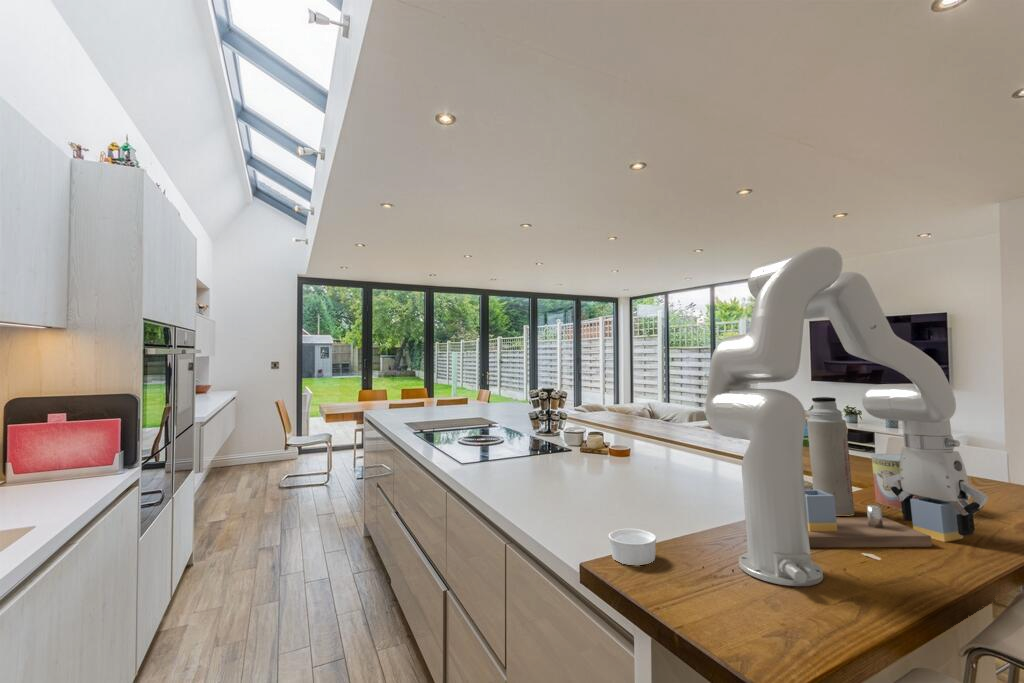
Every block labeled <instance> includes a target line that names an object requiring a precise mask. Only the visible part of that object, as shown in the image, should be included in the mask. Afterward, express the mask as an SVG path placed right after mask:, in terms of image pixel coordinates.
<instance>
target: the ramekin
mask: <svg viewBox="0 0 1024 683" xmlns="http://www.w3.org/2000/svg"><path fill="white" fill-rule="evenodd" d="M608 540H609V544H610V551H611V557H612V559H613V560H614V561H615V560H616V561H618V562H620V563H622V564H621V565H623V564H627V565H643V564H648V563H651V562H652V563H654V562H655V559H656V542H657V536H656V535H655V534H654V533H652V532H649V531H647V530H643V529H638V528H621V529H616V530H612V531H611V532H609V533H608ZM616 561H615V562H616ZM653 561H654V562H653ZM618 562H617V563H618ZM620 563H619V564H620ZM652 563H651V564H652ZM627 565H626V566H627Z"/></svg>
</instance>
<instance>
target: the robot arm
mask: <svg viewBox="0 0 1024 683" xmlns="http://www.w3.org/2000/svg"><path fill="white" fill-rule="evenodd" d="M843 264H844V263H843V257H842V255H841V254H840V252H839V251H838V250H836V249H834V248H832V247H827V246H815V247H811V248H809V249H805V250H802V251H799V252H796V253H792V254H790V255H786V256H784V257H780V258H776V259H773V260H770V261H766V262H764V263H762V264H760V265H758V266H756V267H754V268H753V269H752V271H750V273H749V275H748V279H747V287H748V290H749V293H750V294H751V295H752V297H753V298H754V299H755V300H754V303H753V308H752V314H751V318H750V326H749V328H748V331H747V333H745V334H737V335H731V336H729V337H726V338H724V339H723V340H721V341H720V342H719V343H718V345H716V347H715V349H714V350H713V353H712V356H711V358H710V359H711V360H710V365H709V373H708V383H707V391H706V398H705V416H706V419H707V424H708V425H709V427H710V429H711V430H713V432H715V433H716V434H718V435H720V436H722V437H726V438H731V439H738V440H746V441H749V444H748V446H747V448H746V451H745V453H744V455H743V458H742V461H741V478H742V489H743V490H742V491H743V503H744V504H743V505H744V516H745V517H744V518H745V530H746V532H745V533H746V543H747V552H744V553H742V554H741V555H740V556H739V557H738V565H739V568H741V570H742V571H743V572H745V573H746V574H748V575H749V576H750V577H754V578H755V579H758V580H762V581H763V582H767V583H771V584H775V585H776V584H777V585H781V586H788V587H809V586H814V585H817V584H819V583H821V582H822V581H823V579H824V573H823V569H822V568H821V566H819V565H818V564H817V563H815V562H813V561H812V559H811V547H810V545H809V533H808V522H807V510H806V498H805V490H806V488H805V478H804V464H803V463H804V462H803V449H804V448H803V447H804V446H803V445H804V438H805V437H804V436H805V430H806V424H807V423H806V422H807V420H806V417H807V416H806V410H805V408H804V406H803V405H804V404H802V402H801V401H800V400H799V398H797V397H796V395H794V394H792V393H789V392H787V391H785V390H780V389H774V388H750V387H751V384H753V383H757V384H759V383H760V384H761V383H762V384H764V383H765V384H767V383H783V382H786V381H790V380H792V379H793V378H794V377H795V376H796V375H797V374H798V372H799V369H800V364H801V356H802V344H803V337H804V336H803V335H804V324H805V320H810V319H811V320H812V319H819V318H828V319H829V322H830V323H831V325H832V327H833V329H834V331H835V333H836V335H837V337H838V339H839V341H840V343H841V345H842V347H843V348H844V351H845V352H847V353H848V355H851V356H854V357H857V358H860V359H863V360H865V361H868V362H871V363H875V364H879V365H881V366H885V367H886V368H887V367H888V368H890V369H893V370H895V371H897V372H898V373H900V374H901V375H904V376H905V377H906V378H907V379H909V380H910V382H912V383H885V384H883V383H882V384H877V385H873V386H870V387H869V388H868V389H866V390H865V391H864V394H863V396H862V406H863V408H864V410H865V412H867V413H868V414H869V415H870V416H872V417H874V418H877V419H880V420H886V421H898V422H899V421H900V422H902V423H901V424H902V433H903V443H904V446H903V447H902V448H901V450H900V454H901V457H900V473H899V474H896V475H893V476H890V477H887V478H886V480H887V482H888V484H889V485H890V487H891V490H892V491H893V492H894V493H895V495H896V496H897V498H898V500H899V501H901V506H902V511H901V513H902V514H901V515H903V516H902V517H903V520H904V521H906V522H910V521H912V511H911V502H910V499H913V498H914V497H915V496H919V497H924V498H929V499H934V500H938V501H943V502H950V503H951V504H952V505H953V506H954V507H955V508H956V509H957V510H958V511H959V512H960V514H957V515H956V517H957V525H958V533H959V534H960V535H962V536H963V537H964V536H970V535H973V534H974V533H975V532H974V531H975V530H976V529H975V522H974V521H975V520H974V515H975V514H976V513H977V512H978V511H980V510H981V509H983V508H984V505H985V504H986V503H987V501H988V499H989V495H988V494H986V493H985V492H983V491H981V490H979V489H977V488H976V487H974V486H973V485H971V484H970V483H969V478H968V473H967V470H966V467H965V463H964V461H963V457H962V456H961V453H960V452H959V451H958V450H954V449H955V448H959V447H960V445H961V442H960V441H959V440H958V439H954V436H953V435H952V427H951V426H952V425H951V418H953V417H954V415H955V413H956V410H957V402H956V398H955V397H956V396H955V394H954V392H953V389H952V387H951V386H952V385H950V382H949V380H948V378H947V376H946V374H945V373H944V371H943V369H942V368H941V366H940V365H939V364H938V362H936V361H935V360H934V359H933V358H932V357H931V356H929V355H928V354H926V353H925V352H923V351H922V349H920V348H918V347H916V346H915V345H913V344H912V343H910V342H908V341H906V340H904V339H902V338H901V337H899V336H898V335H897V334H895V333H894V331H893V329H892V327H891V325H890V322H889V320H888V319H887V316H886V315H885V313H884V311H883V309H882V306H881V305H880V303H879V300H878V299H877V295H876V294H875V292H874V291H873V288H872V287H871V284H870V282H869V281H868V279H867V278H866V277H865V276H864V275H863V274H861V273H858V272H854V271H844V272H843V271H842V269H843ZM898 481H901V487H902V488H901V487H900V486H899V484H898ZM971 497H972V498H973V499H972V502H969V500H970V499H971ZM912 522H913V521H912Z"/></svg>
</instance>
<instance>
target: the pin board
mask: <svg viewBox="0 0 1024 683" xmlns="http://www.w3.org/2000/svg"><path fill="white" fill-rule="evenodd" d="M882 512H883V511H882V506H880V505H875V504H867V505H866V515H867V517H865V516H864V517H861V516H860V517H836V521H837V531H808V533H809V545H810V548H932V547H933V544H932V538H931V536H929V535H927V534H924V533H922V532H919V531H917V530H915V529H913V527H912V528H911V527H909V526H907V525H905V524H902V523H900V522H897V521H895V520H893V519H889V518H887V517H884V516H883V513H882Z"/></svg>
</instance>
